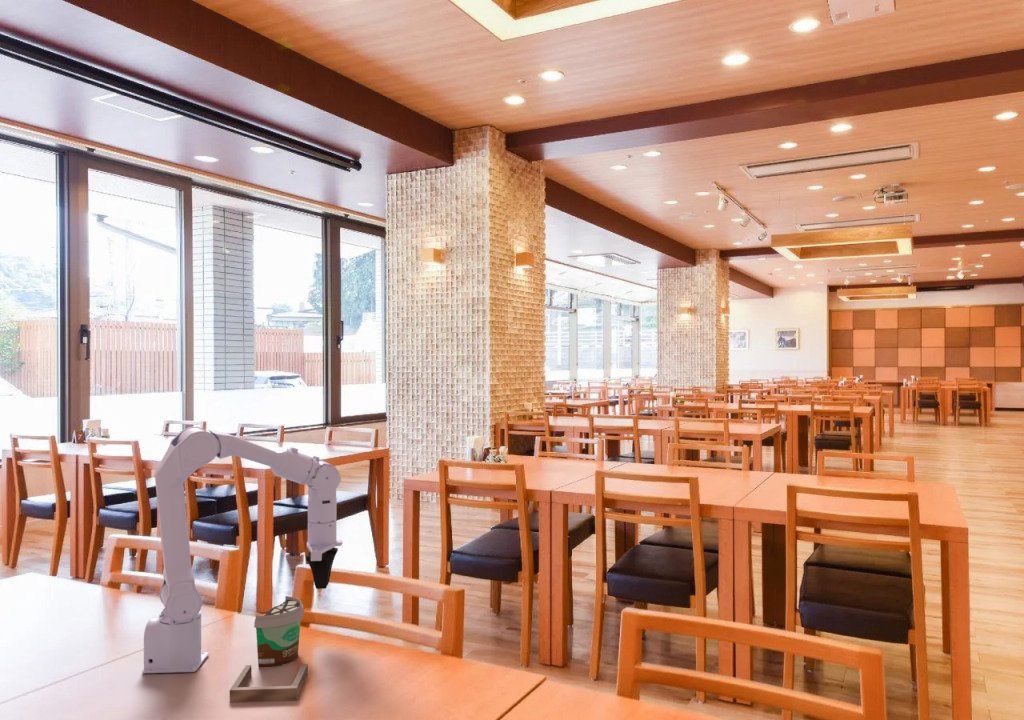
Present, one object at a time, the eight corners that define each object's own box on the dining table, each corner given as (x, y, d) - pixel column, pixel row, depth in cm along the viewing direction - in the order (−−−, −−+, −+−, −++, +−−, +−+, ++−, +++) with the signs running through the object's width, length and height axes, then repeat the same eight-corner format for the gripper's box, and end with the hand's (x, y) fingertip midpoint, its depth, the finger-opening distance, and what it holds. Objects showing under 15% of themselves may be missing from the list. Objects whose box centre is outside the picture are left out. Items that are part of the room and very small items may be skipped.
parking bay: (229, 702, 127) (229, 690, 127) (245, 676, 137) (245, 665, 137) (296, 700, 128) (296, 688, 128) (307, 674, 138) (307, 663, 138)
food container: (284, 673, 138) (284, 619, 138) (254, 670, 139) (254, 616, 139) (315, 647, 150) (315, 597, 150) (287, 645, 152) (287, 595, 151)
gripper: (336, 528, 148) (336, 597, 149) (346, 512, 163) (346, 575, 163) (299, 529, 148) (299, 598, 148) (313, 512, 162) (313, 576, 163)
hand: (322, 586), depth 156 cm, fingers closed
